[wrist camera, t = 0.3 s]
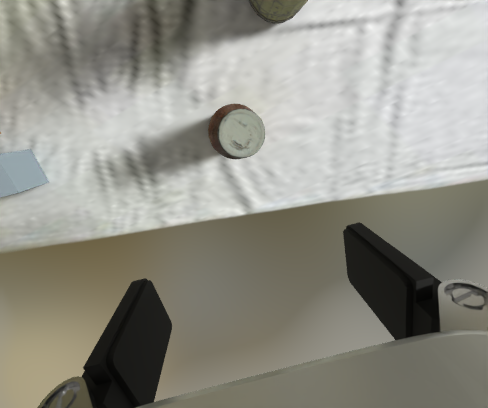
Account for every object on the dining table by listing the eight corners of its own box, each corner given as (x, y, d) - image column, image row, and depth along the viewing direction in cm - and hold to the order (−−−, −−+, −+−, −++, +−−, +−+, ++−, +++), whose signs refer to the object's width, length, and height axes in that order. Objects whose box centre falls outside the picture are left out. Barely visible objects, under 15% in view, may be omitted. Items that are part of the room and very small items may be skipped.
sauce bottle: (224, 156, 39) (226, 189, 20) (203, 124, 37) (182, 128, 18) (257, 135, 38) (288, 148, 20) (236, 100, 36) (250, 79, 18)
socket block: (-13, 160, 36) (-56, 167, 30) (30, 149, 36) (-5, 154, 30) (8, 192, 38) (-29, 204, 32) (49, 182, 38) (18, 192, 32)
